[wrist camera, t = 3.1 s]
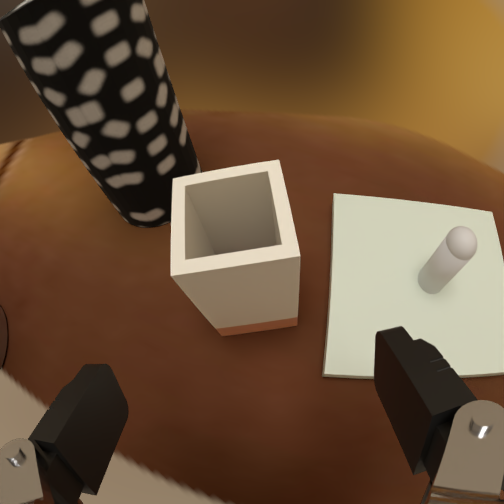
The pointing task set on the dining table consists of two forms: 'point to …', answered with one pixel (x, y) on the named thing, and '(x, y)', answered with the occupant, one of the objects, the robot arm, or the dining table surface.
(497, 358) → the pin board
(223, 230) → the sleeve
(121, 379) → the dining table surface
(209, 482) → the dining table surface
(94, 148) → the spotted tube
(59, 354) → the dining table surface
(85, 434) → the robot arm
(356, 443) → the dining table surface
